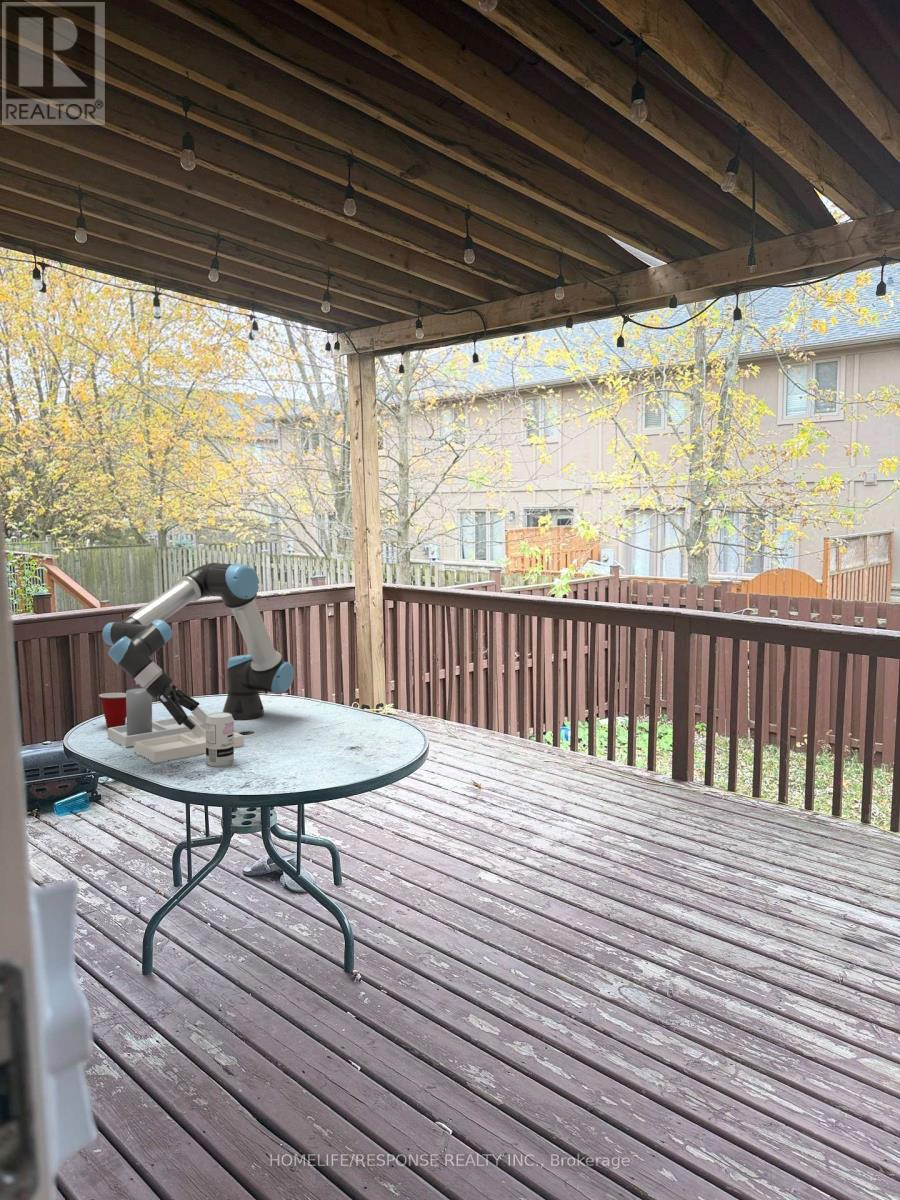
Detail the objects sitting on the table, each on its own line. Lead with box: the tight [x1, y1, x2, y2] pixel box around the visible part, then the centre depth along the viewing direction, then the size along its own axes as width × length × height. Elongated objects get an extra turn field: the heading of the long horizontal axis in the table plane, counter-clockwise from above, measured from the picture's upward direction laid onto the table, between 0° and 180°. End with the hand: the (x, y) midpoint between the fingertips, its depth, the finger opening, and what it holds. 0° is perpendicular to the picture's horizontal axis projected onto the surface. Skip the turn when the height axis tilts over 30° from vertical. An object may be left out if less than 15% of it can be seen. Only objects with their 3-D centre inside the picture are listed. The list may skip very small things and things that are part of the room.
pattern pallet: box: [107, 687, 206, 748], centre depth 272 cm, size 30×15×16 cm, turn 134°
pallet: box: [133, 729, 245, 764], centre depth 257 cm, size 30×15×4 cm, turn 134°
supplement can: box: [205, 711, 235, 768], centre depth 242 cm, size 8×8×15 cm
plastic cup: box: [98, 692, 127, 729], centre depth 283 cm, size 11×11×12 cm
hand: (206, 729), depth 241 cm, fingers open, 13 cm apart
